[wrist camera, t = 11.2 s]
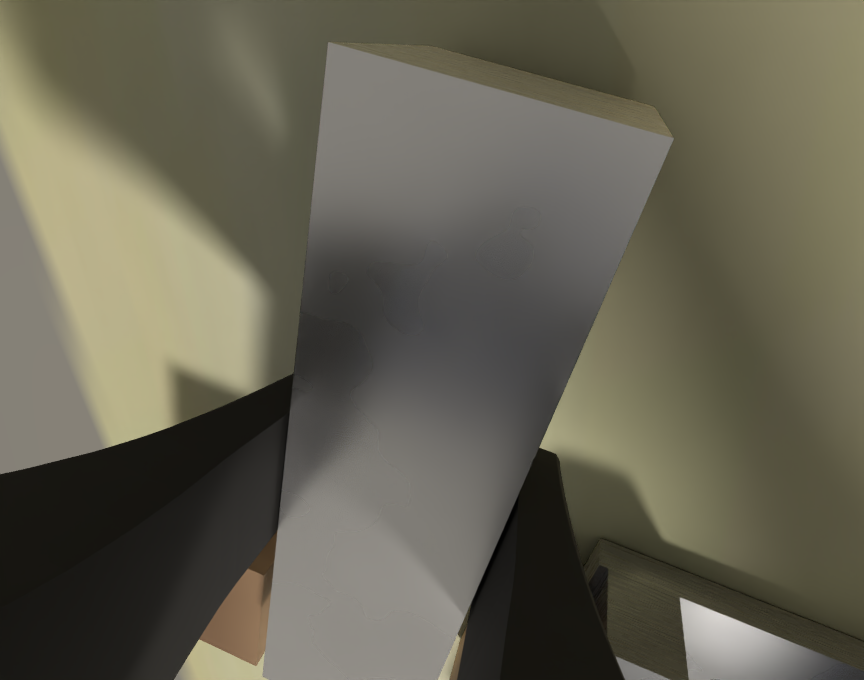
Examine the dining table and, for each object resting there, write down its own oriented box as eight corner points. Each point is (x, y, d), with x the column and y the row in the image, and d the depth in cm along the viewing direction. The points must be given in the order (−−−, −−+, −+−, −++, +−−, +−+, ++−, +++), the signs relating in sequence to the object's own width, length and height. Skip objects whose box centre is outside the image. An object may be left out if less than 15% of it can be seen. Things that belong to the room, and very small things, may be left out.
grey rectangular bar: (654, 106, 8) (673, 138, 5) (451, 604, 15) (408, 746, 12) (430, 45, 9) (328, 42, 6) (333, 552, 15) (262, 676, 12)
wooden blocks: (594, 597, 14) (588, 720, 11) (543, 676, 16) (529, 795, 13) (241, 452, 15) (165, 532, 13) (237, 542, 17) (172, 626, 15)
